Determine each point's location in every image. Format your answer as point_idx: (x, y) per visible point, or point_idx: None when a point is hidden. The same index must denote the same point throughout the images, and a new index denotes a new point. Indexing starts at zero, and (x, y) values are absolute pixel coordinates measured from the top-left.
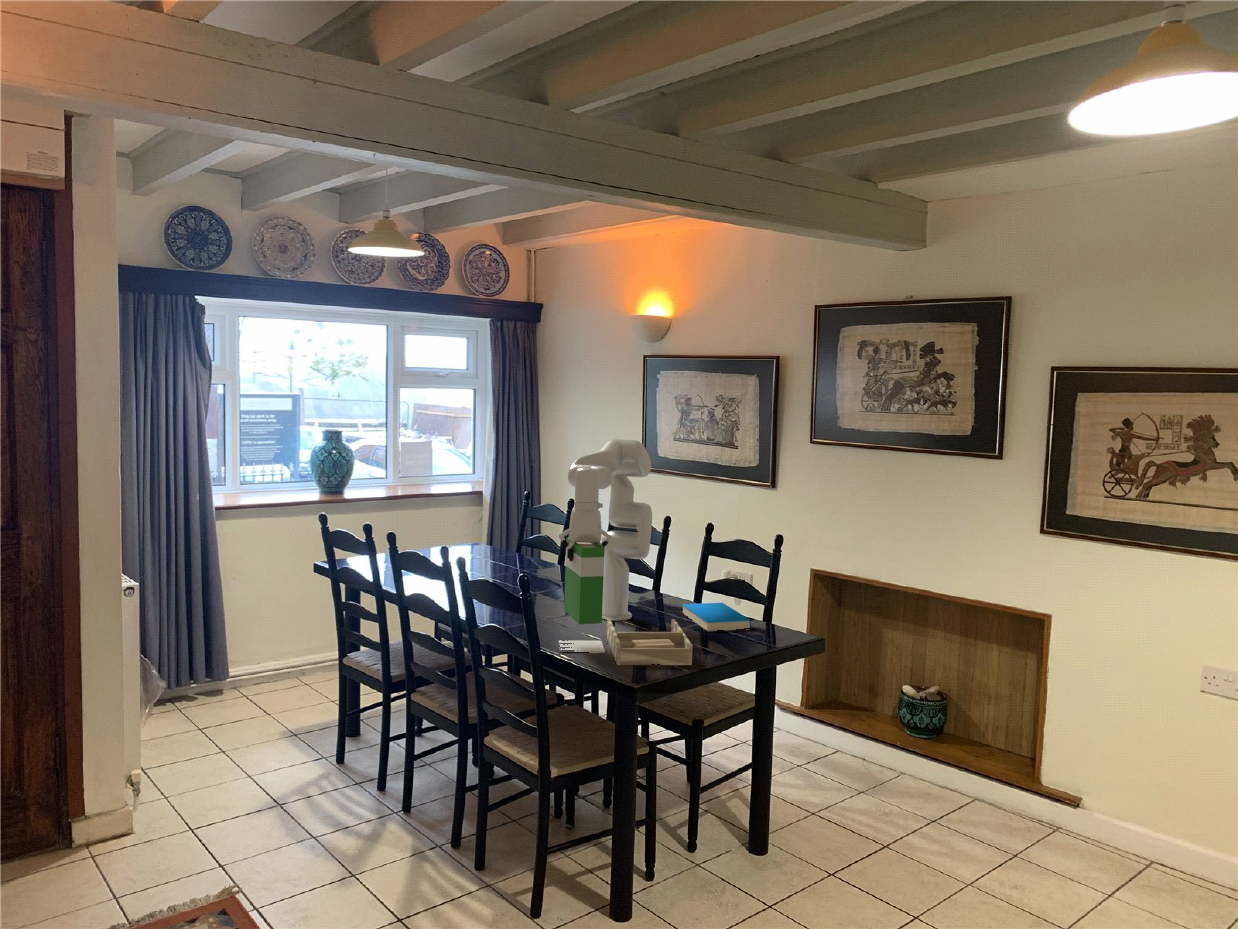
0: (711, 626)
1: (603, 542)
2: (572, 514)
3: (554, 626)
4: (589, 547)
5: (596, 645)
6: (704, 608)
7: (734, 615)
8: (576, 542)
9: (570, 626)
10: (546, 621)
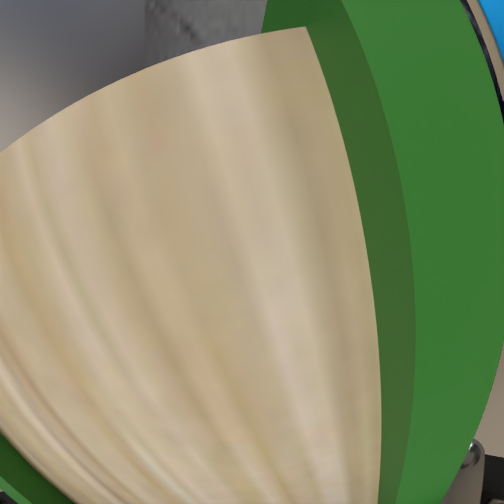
0: None
1: (494, 493)
2: None
3: (163, 42)
4: None
5: None
6: (501, 13)
7: None
8: (70, 470)
9: (208, 34)
10: (145, 7)
